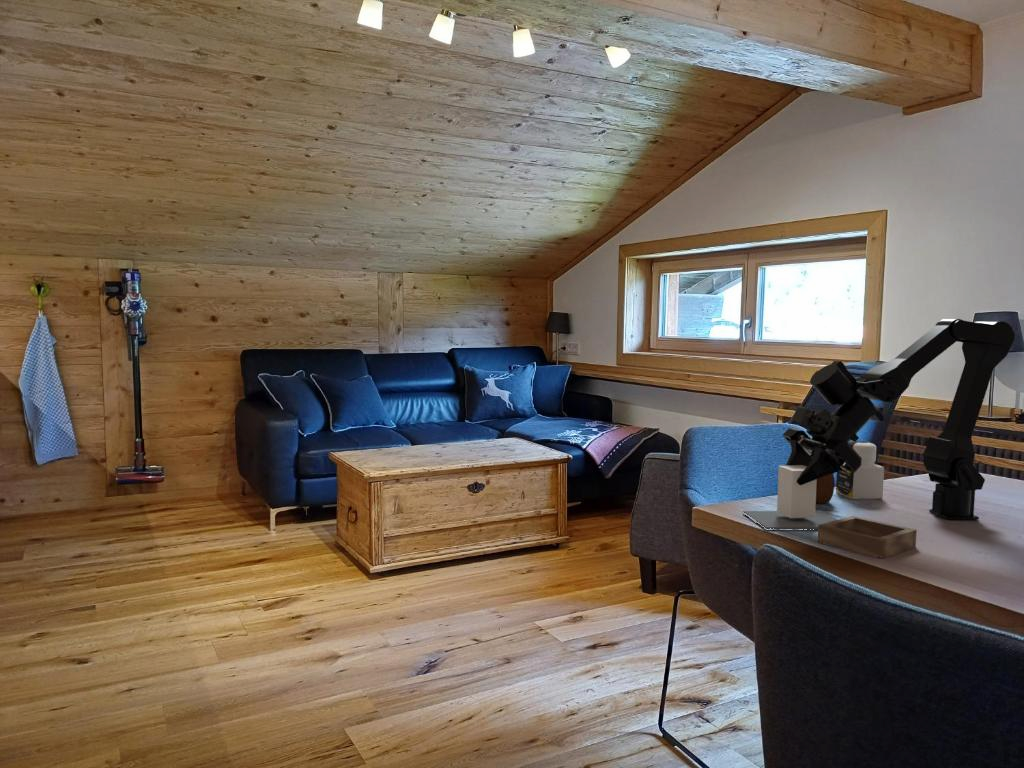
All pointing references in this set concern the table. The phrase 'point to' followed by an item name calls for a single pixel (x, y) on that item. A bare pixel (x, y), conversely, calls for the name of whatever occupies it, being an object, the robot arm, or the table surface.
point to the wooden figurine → (824, 488)
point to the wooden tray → (867, 536)
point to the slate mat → (789, 520)
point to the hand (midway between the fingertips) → (790, 480)
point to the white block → (795, 493)
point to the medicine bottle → (862, 475)
